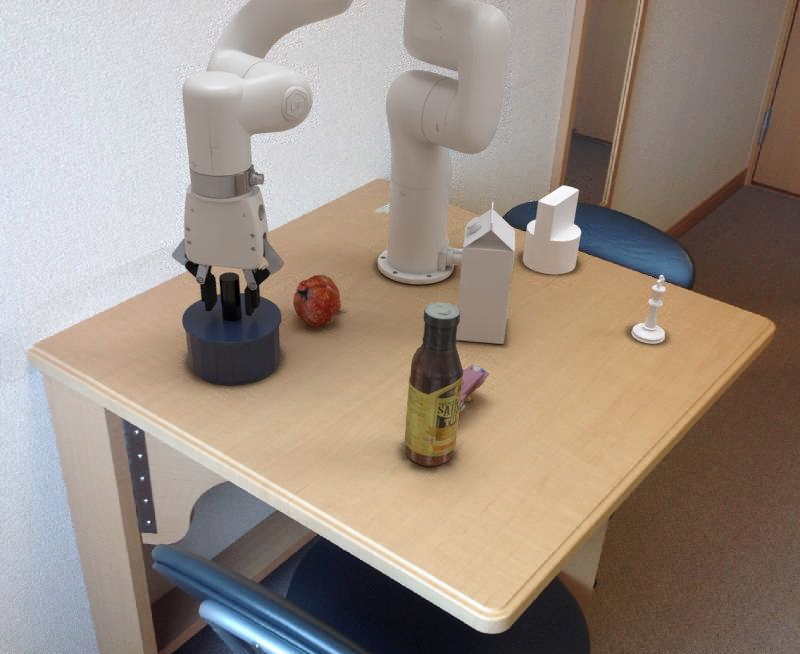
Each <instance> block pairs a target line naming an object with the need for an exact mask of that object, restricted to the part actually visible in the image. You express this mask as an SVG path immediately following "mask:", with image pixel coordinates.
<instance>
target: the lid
mask: <svg viewBox="0 0 800 654" xmlns="http://www.w3.org/2000/svg"><path fill="white" fill-rule="evenodd" d="M218 281H219V293H217V303H216V304H215V306H214V307H213V309H212V310H211V311H210V312H209V311H206V310H205V302H202V300H201V299H199V300H197V301H195V302H193V303H192V304H190V305H189V306H188V307H187V308H186V309H185V310H184V312H183V314H182V317H181V324H182V328H183V330H184V331H185V333H186V332H187V333H188V334H189V335H190V336H191V337H193V338H195V339H197V340H199V341H202V342H205V343H208V344H213V345H222V346H234V345H243V344H249V343H253V342H256V341H259V340H262V339H264V338H266V337H268V336H269V335H271V334H272V333H274V332H275V331H276V330H277V329H278V327H279V328H280V326H281V324H282V319H283V317H282V316H283V315H282V311H281V309H280V307H279V306H278V305H277V304H276V303H275V302H274V301H272V300H270V299H268V298H266V297H263V296H261V295H260V305H259V307H258V308H255V310H254V312H253V314H252V316H247V315H246V312H245V296H244V292H241V283H240V281H241V280H240V275H239V274H238V273H236V272H231V271H229V272H227V271H226V272H223V273H222V274H219V276H218Z"/></svg>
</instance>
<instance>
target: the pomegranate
mask: <svg viewBox="0 0 800 654" xmlns="http://www.w3.org/2000/svg"><path fill="white" fill-rule="evenodd" d="M340 294H341V293H340V291H339V288H338V286H337V284H336V283H335V282H334V280H333V279H332V278H330V277H329V276H326V275H324V274H323V275H322V274H315V275H313V276H310V277H309V278H307V279H303V280H301V281H300V282H299V283H298V286H297V287H296V292H295V293H294V294H293V299H292V304H293V308H294V311H295V313H296V315H297V316H298V318H300V319H301V320H304V321H305V322H306V323H307V324H308V325H310V326H312V327H316V328H317V327H325V326H326V325H328V324H330V323H331V322H333V320H334V315H335V314H337V313H340V312H341V308H342V301H341V295H340Z"/></svg>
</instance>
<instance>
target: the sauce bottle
mask: <svg viewBox="0 0 800 654" xmlns="http://www.w3.org/2000/svg"><path fill="white" fill-rule="evenodd" d="M423 322H424V328H423V336H422V343H421V345H420V346H419V347H417V349H416V350H415V352H414V354H413V356H412V359H411V362H410V363H411V364H410V375H409V379H408V388H407V389H408V390H407V403H406V404H407V405H406V415H405V431H404V443H405V452H406V455H407V457H408V458H409V459H410V460H411V461H412V462H415V463H416V464H419V465H421V466H425V467H426V466H427V467H430V466H431V467H433V466H439V465H442V464H445V463H447V462H448V461H449V460H450V459H451V458H452V457H453V453H454V449H455V447H456V444H457V435H458V426H459V418H460V417H459V416H460V412H459V410H460V400H461V391H462V383H463V370H464V368H463V366H462V361H461V358H460V354H459V351H458V347H457V344H458V342H457V341H458V340H456V334H457V325H458V324H459V322H460V310H459V309H458V306H456V305H455V304H453V303H450V302H443V301H437V302H436V301H435V302H431V303H429V304H427V305H426V306H425V307H424V309H423Z"/></svg>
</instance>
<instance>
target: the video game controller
mask: <svg viewBox="0 0 800 654" xmlns="http://www.w3.org/2000/svg"><path fill="white" fill-rule="evenodd" d="M489 375H490V373H489V372H488V371H487V370H485V369H484V367H481V366H479V365H477V364H476V363H474V364H471V365H469V366H468V367H466V368H463V383H462V391H461V400H460V410H459V413H460V412H462V411H463V410H464V409H465V408H466V404H465V402H470V401H471V400H472V395H473V393H474V392H475V391H477V389H480V387H481V386H482V385H484V383H485V381H486V379H487V378H488V377H489Z"/></svg>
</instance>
